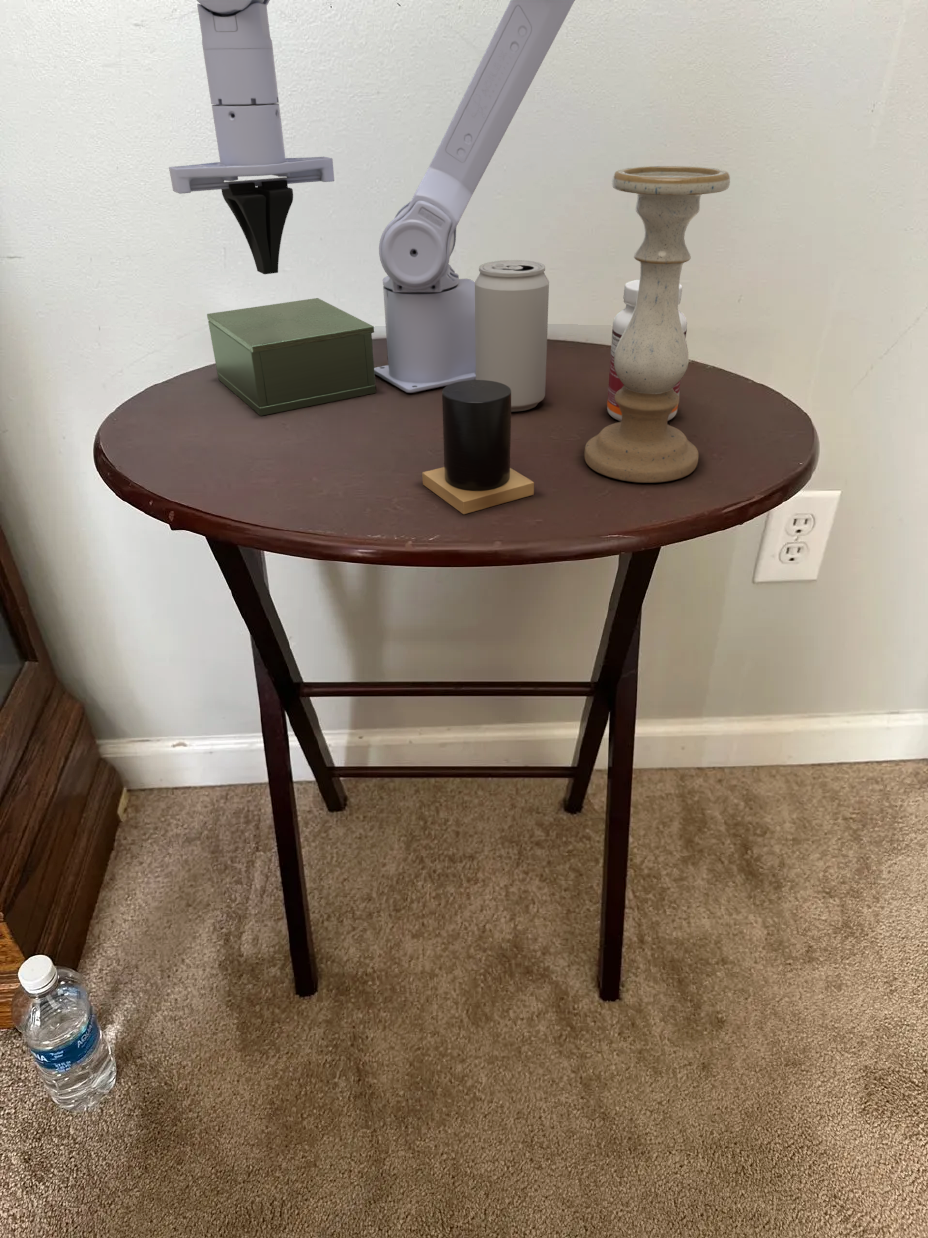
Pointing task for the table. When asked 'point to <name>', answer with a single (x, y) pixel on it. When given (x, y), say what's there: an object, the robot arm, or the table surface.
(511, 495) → the plate
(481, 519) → the table surface
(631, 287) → the pill bottle
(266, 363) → the green hinged box
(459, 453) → the cylinder
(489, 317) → the beverage can
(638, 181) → the candle holder
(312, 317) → the green box lid
